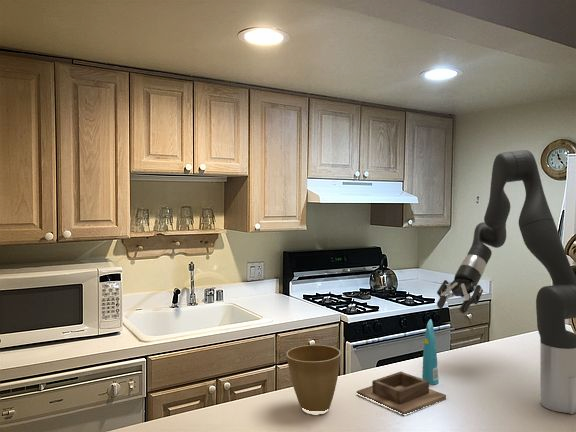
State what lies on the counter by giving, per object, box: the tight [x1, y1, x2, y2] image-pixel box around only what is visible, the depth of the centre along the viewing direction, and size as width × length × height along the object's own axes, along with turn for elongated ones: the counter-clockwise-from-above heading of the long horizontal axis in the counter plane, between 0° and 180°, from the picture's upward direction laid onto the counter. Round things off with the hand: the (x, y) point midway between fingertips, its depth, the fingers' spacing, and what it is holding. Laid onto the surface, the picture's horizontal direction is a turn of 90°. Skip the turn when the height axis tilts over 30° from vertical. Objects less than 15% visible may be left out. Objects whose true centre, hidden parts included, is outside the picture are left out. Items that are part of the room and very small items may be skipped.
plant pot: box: [286, 344, 342, 411], centre depth 132 cm, size 15×15×16 cm
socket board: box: [356, 371, 447, 414], centre depth 140 cm, size 18×18×5 cm
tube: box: [421, 318, 439, 386], centre depth 151 cm, size 7×5×19 cm, turn 160°
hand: (450, 309), depth 157 cm, fingers open, 8 cm apart
